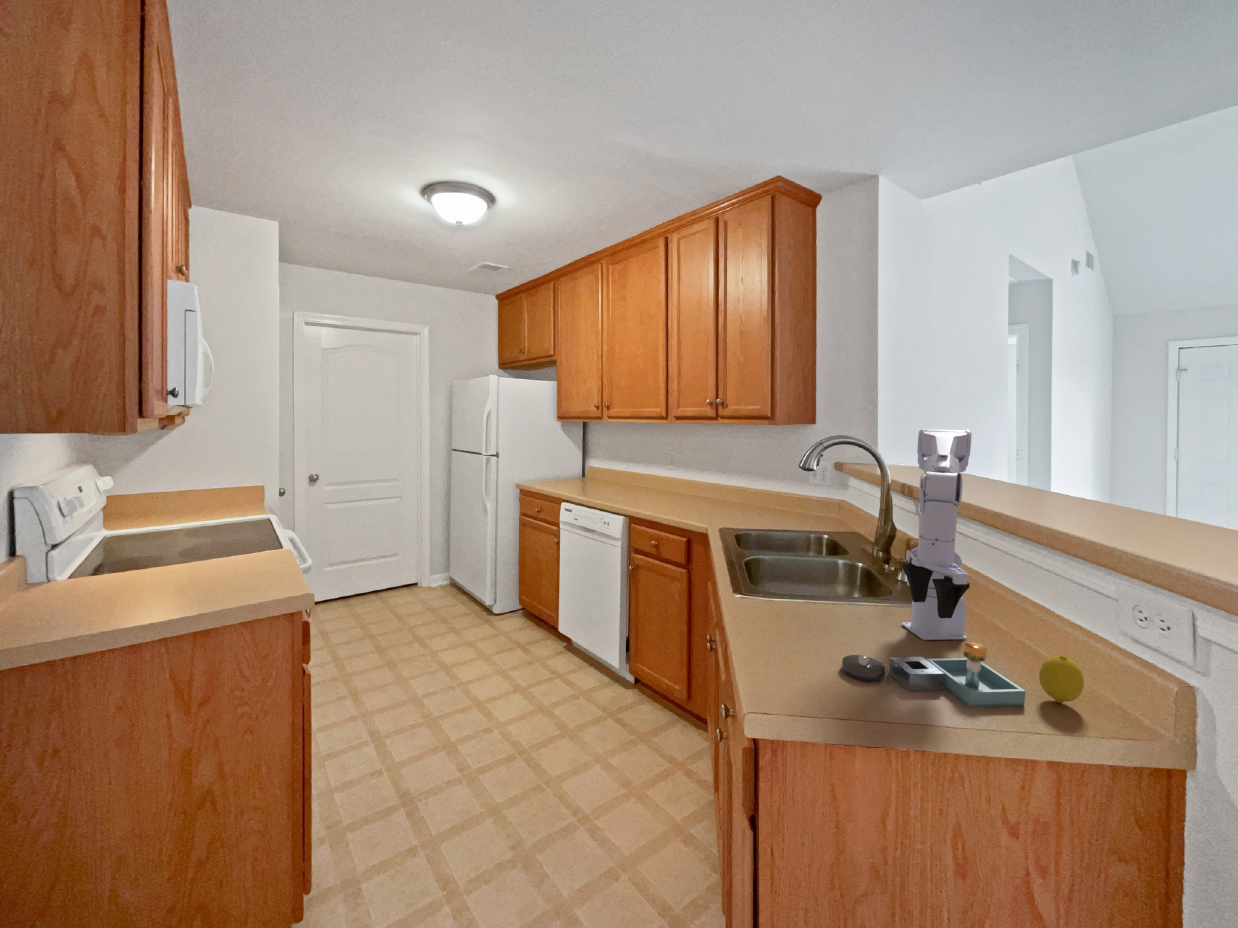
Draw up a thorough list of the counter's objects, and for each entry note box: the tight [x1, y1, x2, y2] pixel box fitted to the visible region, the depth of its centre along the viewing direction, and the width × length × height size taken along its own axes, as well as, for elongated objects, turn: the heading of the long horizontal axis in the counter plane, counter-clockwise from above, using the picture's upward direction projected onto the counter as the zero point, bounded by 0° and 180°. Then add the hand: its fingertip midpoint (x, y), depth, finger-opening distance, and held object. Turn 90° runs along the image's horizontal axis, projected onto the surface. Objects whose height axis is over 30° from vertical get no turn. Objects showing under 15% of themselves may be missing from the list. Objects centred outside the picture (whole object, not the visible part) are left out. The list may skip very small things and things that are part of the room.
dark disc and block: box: [841, 654, 944, 692], centre depth 95 cm, size 14×10×3 cm
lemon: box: [1039, 654, 1085, 704], centre depth 86 cm, size 6×6×8 cm
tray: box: [925, 657, 1026, 708], centre depth 91 cm, size 9×11×2 cm
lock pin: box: [962, 641, 988, 689], centre depth 91 cm, size 3×3×7 cm
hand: (931, 609), depth 99 cm, fingers open, 7 cm apart
